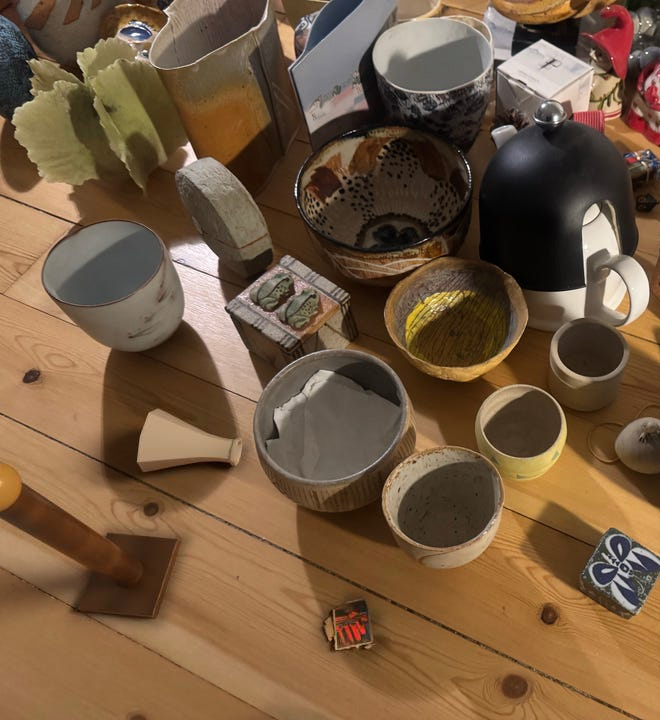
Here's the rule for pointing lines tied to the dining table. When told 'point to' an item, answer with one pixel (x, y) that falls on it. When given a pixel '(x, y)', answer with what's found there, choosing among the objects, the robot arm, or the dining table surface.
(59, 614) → the dining table surface
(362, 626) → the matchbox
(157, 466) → the flask
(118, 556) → the post
